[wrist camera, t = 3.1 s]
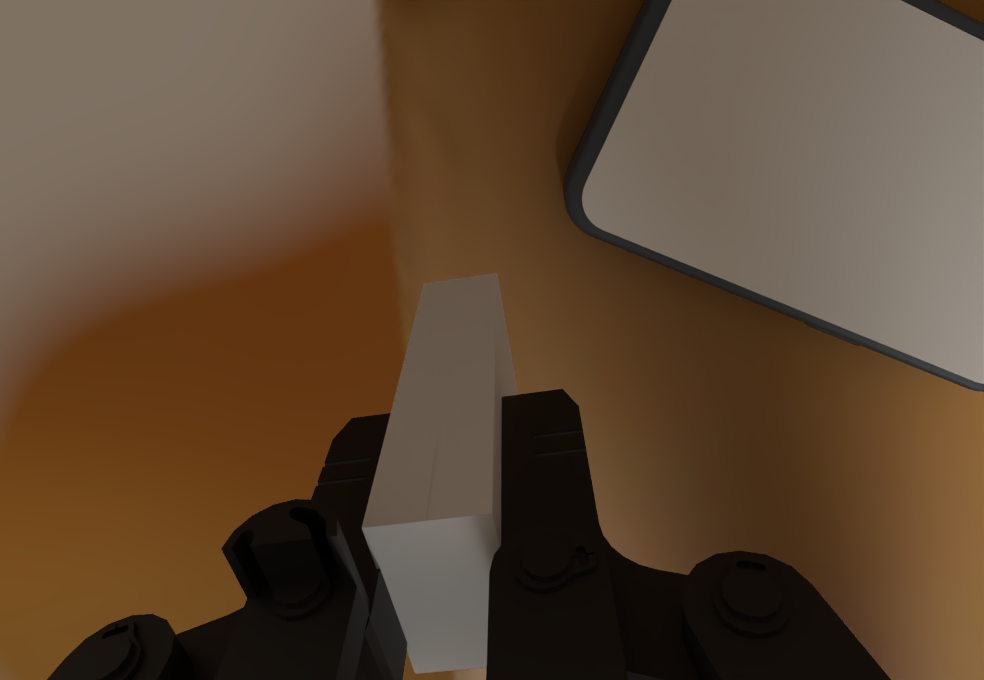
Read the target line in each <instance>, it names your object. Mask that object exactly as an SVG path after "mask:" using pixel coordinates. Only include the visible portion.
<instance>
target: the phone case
mask: <svg viewBox="0 0 984 680" xmlns="http://www.w3.org/2000/svg"><path fill="white" fill-rule="evenodd" d="M563 193H564V201H565V206H566V209H567V212H568V214H569V216H570V218H571V220H572V221H573V222H574V224H575V225H576V226H577V227H578V228H579V229H581V230H582V231H583V232H585V233H587V234H588V235H590V236H593V237H595V238H597V239H600V240H602V241H605V242H607V243H610V244H612V245H615V246H617V247H620V248H622V249H625V250H627V251H630V252H632V253H634V254H637V255H639V256H642V257H644V258H647V259H649V260H652V261H654V262H657V263H659V264H662V265H664V266H667V267H669V268H672V269H674V270H676V271H679V272H681V273H684V274H686V275H689V276H691V277H694V278H696V279H699V280H701V281H704V282H706V283H709V284H711V285H713V286H716V287H718V288H721V289H723V290H726V291H728V292H731V293H733V294H736V295H738V296H741V297H743V298H746V299H748V300H751V301H753V302H755V303H758V304H760V305H763V306H765V307H768V308H770V309H773V310H775V311H778V312H780V313H783V314H785V315H788V316H790V317H792V318H795V319H797V320H800V321H802V322H804V323H805V324H807V325H808V326H810V327H813V328H815V329H818V330H820V331H823V332H825V333H828V334H830V335H832V336H835V337H837V338H840V339H842V340H845V341H847V342H850V343H852V344H855V345H859V346H860V345H862V346H864V347H867V348H869V349H871V350H874V351H876V352H879V353H881V354H884V355H886V356H889V357H891V358H894V359H896V360H899V361H901V362H904V363H906V364H909V365H911V366H913V367H916V368H918V369H921V370H923V371H926V372H928V373H931V374H933V375H936V376H938V377H941V378H943V379H946V380H948V381H950V382H953V383H955V384H958V385H960V386H963V387H965V388H968V389H971V390H974V391H983V392H984V24H983V23H981V22H979V21H977V20H975V19H973V18H971V17H969V16H967V15H965V14H963V13H961V12H959V11H957V10H955V9H953V8H951V7H949V6H947V5H945V4H943V3H941V2H939V1H937V0H644V2H643V4H642V6H641V9H640V11H639V13H638V15H637V17H636V20H635V22H634V24H633V26H632V28H631V31H630V33H629V35H628V37H627V39H626V42H625V44H624V46H623V48H622V50H621V53H620V55H619V57H618V59H617V61H616V64H615V66H614V68H613V70H612V72H611V75H610V77H609V79H608V81H607V84H606V86H605V88H604V90H603V92H602V95H601V97H600V99H599V101H598V103H597V106H596V108H595V110H594V112H593V114H592V117H591V119H590V121H589V123H588V125H587V128H586V130H585V132H584V134H583V136H582V139H581V141H580V143H579V145H578V147H577V150H576V152H575V154H574V156H573V158H572V161H571V163H570V165H569V167H568V169H567V172H566V175H565V178H564V184H563Z"/></svg>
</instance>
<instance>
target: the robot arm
mask: <svg viewBox="0 0 984 680" xmlns="http://www.w3.org/2000/svg"><path fill="white" fill-rule="evenodd" d="M222 551H223V553H224V555H225V557H226V559H227V560H228V562H229V564H230V566H231V568H232V570H233V572H234V574H235V575H236V578H237V579H238V581H239V583H240V585H241V587H242V589H243V591H244V593H245V594H246V596H247V601H246V604H245V606H244V607H243V608H241V609H239V610H237V611H235V612H233V613H231V614H229V615H227V616H224V617H221V618H219V619H216V620H213V621H211V622H208V623H206V624H203V625H200V626H198V627H195V628H193V629H190V630H187V631H184V632H182V633H179V634H177V635H176V634H175V632H174V631H173V629H172V628H171V626H170V625H169V623H168V621H167V620H165V619H163V618H160V617H158V616H156V615H153V614H146V615H133V616H130V617H127V618H124V619H121V620H119V621H116V622H113V623H111V624H108V625H107V626H105V627H104V628H102V629H100V630H99V631H98V632H96V633H94V634H93V635H91V636H90V637H88V638H86V639H85V640H84V641H83V642H82V643H81V644H80V645H79V646H78V647H77V648H76V649H75V650H74V651H73V652H72V653H70V655H68V656H67V657H66V658H65V659H64V660H63V662H62V663H61V664H60V665H59V666H58V667H57V669H56V670H55V671H54V672H53V673H52V674H51V676H50V677H49V678H48V679H47V680H402V679H403V672H404V665H405V658H406V651H407V652H408V655H409V658H410V660H411V663H412V666H413V669H414V671H415V674H416V673H427V672H438V671H450V670H461V669H472V668H484V667H487V675H486V680H891V679H890V678H889V677H888V676H887V675H886V673H885V672H884V671H883V670H882V668H881V667H880V666H879V665H878V664H877V662H876V661H875V660H874V659H873V658H872V656H871V655H870V654H869V653H868V652H867V650H866V649H865V648H864V647H863V646H862V644H861V643H860V642H859V641H858V640H857V638H856V637H855V636H854V635H853V633H852V632H851V631H850V630H849V629H848V627H847V626H846V625H845V624H844V623H843V621H842V620H841V619H840V618H839V617H838V615H837V614H836V613H835V612H834V611H833V609H832V608H831V607H830V606H829V605H828V603H827V602H826V601H825V600H824V599H823V597H822V596H821V595H820V594H819V592H818V591H817V590H816V589H815V588H814V586H813V585H812V584H811V583H810V582H809V581H807V580H806V579H805V578H804V577H803V576H802V575H801V574H799V573H798V572H797V571H796V570H795V569H794V568H793V567H791V566H789V565H787V564H785V563H783V562H781V561H779V560H776V559H774V558H772V557H770V556H768V555H764V554H758V553H751V552H745V551H734V552H727V553H720V554H715V555H713V556H711V557H709V558H707V559H706V560H704V561H702V562H700V563H698V564H696V566H695V567H694V568H693V570H692V571H691V572H690V574H689V575H684V574H678V573H673V572H667V571H661V570H656V569H653V568H649V567H646V566H642V565H639V564H637V563H635V562H633V561H631V560H629V559H627V558H625V557H623V556H622V555H621V554H620V553H619V552H617V551H616V550H615V549H614V548H613V547H611V545H610V544H609V543H608V541H607V540H606V538H605V537H604V536H603V533H602V531H601V528H600V525H599V521H598V515H597V510H596V504H595V498H594V492H593V486H592V481H591V475H590V469H589V463H588V458H587V452H586V446H585V440H584V434H583V429H582V423H581V417H580V411H579V406H578V405H577V404H576V403H575V402H574V401H573V400H572V399H571V398H570V397H569V395H568V394H567V393H566V392H565V391H564V390H563V389H559V390H551V391H543V392H535V393H528V394H520V395H517V383H516V377H515V372H514V366H513V360H512V355H511V349H510V343H509V338H508V332H507V326H506V321H505V315H504V310H503V304H502V298H501V293H500V287H499V281H498V276H497V273H492V274H485V275H478V276H472V277H465V278H458V279H451V280H444V281H438V282H431V283H424V284H423V288H422V292H421V296H420V300H419V304H418V308H417V312H416V316H415V320H414V324H413V328H412V331H411V335H410V339H409V343H408V347H407V351H406V355H405V359H404V363H403V367H402V371H401V375H400V379H399V383H398V387H397V391H396V395H395V398H394V402H393V406H392V410H391V413H389V414H381V415H373V416H365V417H357V418H352V419H351V420H350V421H349V422H348V423H347V424H346V426H345V427H344V428H343V429H342V430H341V431H340V432H339V433H338V434H337V435H336V437H335V438H334V439H333V441H332V443H331V446H330V449H329V452H328V455H327V457H326V460H325V467H323V468H322V471H321V474H320V476H319V479H318V486H316V487H315V490H314V493H313V496H312V498H311V500H301V499H300V500H299V499H295V500H291V501H287V502H283V503H279V504H275V505H272V506H270V507H268V508H266V509H264V510H263V511H260V512H258V513H257V514H255V515H253V516H251V517H250V518H249V519H248V520H247V521H245V522H244V523H243V524H242V525H240V526H239V527H238V528H237V529H236V530H234V532H233V533H232V534H231V536H230V537H229V539H228V540H227V541H226V543H225V544H224V546H223V547H222Z"/></svg>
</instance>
